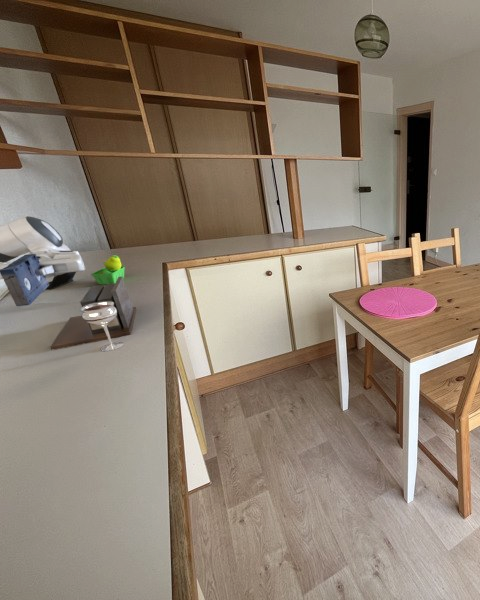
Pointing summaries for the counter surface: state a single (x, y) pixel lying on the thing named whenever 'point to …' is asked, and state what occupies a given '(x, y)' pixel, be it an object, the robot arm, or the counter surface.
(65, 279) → the handheld gaming console
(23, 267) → the vhs cassette tape
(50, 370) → the counter surface
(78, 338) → the book rack
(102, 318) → the wineglass
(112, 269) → the fruit basket
